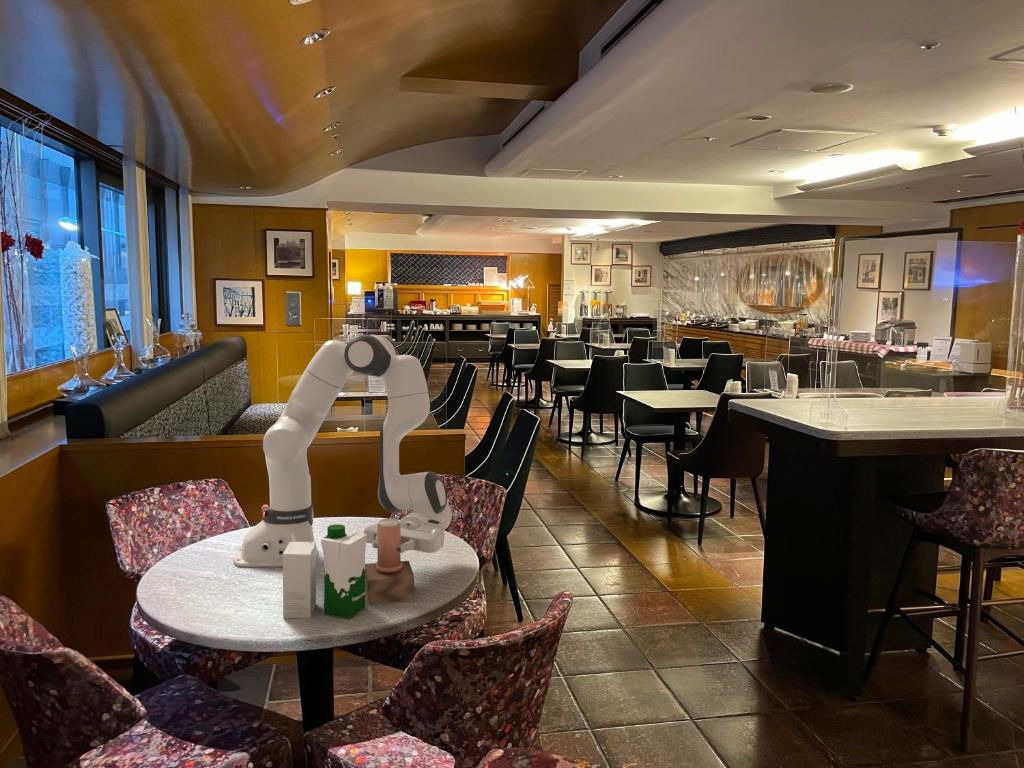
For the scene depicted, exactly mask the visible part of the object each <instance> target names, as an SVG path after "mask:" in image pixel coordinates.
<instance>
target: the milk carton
mask: <svg viewBox="0 0 1024 768" xmlns="http://www.w3.org/2000/svg"><path fill="white" fill-rule="evenodd" d="M366 540H367V534H364V533H361V532H358V531H348V530H346V526H345V525H344V524H337V523H336V524H331V525H328V526H327V534H326V535H325V536H324V537H322V538H321V539H320V544H321V548H322V553H323V576H324V577H323V578H324V580H323V583H324V584H323V585H324V587H323V590H324V592H323V593H324V595H323V596H324V597H323V615H327V616H331V617H335V618H341V619H348V620H350V619H352V618H353V617H354V616H356V615H357V614H359V613H360V612H361V611H363V610H364V609H365V608H367V603H366V602H367V601H366V599H367V597H366V589H365V564H366V550H367V549H366V547H367V543H366Z"/></svg>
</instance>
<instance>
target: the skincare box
mask: <svg viewBox="0 0 1024 768" xmlns="http://www.w3.org/2000/svg"><path fill="white" fill-rule="evenodd" d="M316 548H317V542H316V541H315V542H289V544H288V546H287V548H286V549H285V551H284V553H283V566H282V618H283V619H285V620H286V619H289V620H290V619H311V617H312V616H313V612H314V610H315V607H316V605H317V555H316Z"/></svg>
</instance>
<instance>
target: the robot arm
mask: <svg viewBox="0 0 1024 768" xmlns="http://www.w3.org/2000/svg"><path fill="white" fill-rule="evenodd" d="M353 373H357V374H359V375H363V376H369V377H375V378H376V377H377V378H379V377H380V378H381V380H383V382H384V385H385V389H386V394H387V401H388V403H387V404H388V405H387V406H388V407H387V413H386V417H385V418H384V419H383V420H382V422H381V424H380V430H379V479H378V488H377V499H378V500H377V501H378V502H379V504H380V505H381V507H382V508H383V509H384V510H386V512H388V513H391V514H395V513H400V512H405V511H411V510H412V512H410V513H408V514H407V515H406V516H404V517H401V519H399V523H400V524H401V543H400V544H398V545H397V548H398V549H397V551H398V552H401V553H405V552H408V551H414V552H415V551H416V552H423V553H429V554H431V553H432V554H433V553H435V552H438V551H439V550H440V549H441V548H443V547H444V542H445V530H446V529H447V528H448V526H449V525H450V523H451V521H452V517H453V511H452V507H451V506H450V505H449V504H448V493H447V489H446V485H445V483H444V481H443V480H442V478H441V477H440V476H439V475H438V474H437V473H435V472H434V471H423V472H416V473H408V474H401V473H400V443H401V441H402V440H403V438H404V437H405V436H406V435H407V434H409V433H410V432H412V431H413V430H415V429H417V428H418V427H419V426H421V425H422V424H423V423H424V422H425V421H426V420H427V418H428V416H429V414H430V411H431V410H430V409H431V401H430V396H429V395H430V394H429V389H428V385H427V379H426V376H425V373H424V369H423V366H422V364H421V361H420V360H419V359H418V358H417V357H415V356H413V355H410V354H399V355H398V350H397V347H396V345H395V343H393V341H392V340H391V339H389V338H387V337H384V336H381V335H378V334H359V335H356V336H355V337H352V339H350V340H349V341H348V342H347V343H346V342H344V341H342V340H338V339H330V340H327V341H326V342H324V344H322V346H320V348H319V349H318V350H317V352H316V353H315V354H314V355H313V357H312V359H311V360H310V362H309V363H308V364H307V367H306V368H305V369H304V371H303V373H302V375H301V376H300V378H299V380H298V381H297V383H296V385H295V387H294V388H293V390H292V392H291V394H290V396H289V399H288V401H287V403H286V404H285V407H284V409H283V411H282V413H281V415H280V416H279V418H278V419H277V420H276V422H275V423H274V424H272V426H270V427H269V428H268V429H267V431H266V432H265V435H264V436H263V441H262V450H263V452H264V457H265V464H266V468H267V469H266V470H267V475H268V482H269V484H268V485H269V486H268V487H269V505H268V504H263V505H262V506H261V513H262V514H261V515H262V520H261V521H260V522H259V523H257V524H256V525H255V526H254V527H252V528H251V529H250V530H248V531H247V532H246V533H245V536H244V537H243V539H242V543H241V547H240V548H239V549H236V550H235V552H234V554H233V559H232V561H233V564H234V565H235V566H237V567H248V568H249V567H250V568H251V567H252V568H253V567H283V553H284V551H285V549H286V548H287V546H288V544H289V542H316V540H315V536H314V531H313V530H314V528H313V525H314V507H313V504H312V487H311V486H312V485H311V484H312V483H311V482H312V480H311V478H312V477H311V474H310V469H309V464H308V456H307V454H308V447H310V445H311V444H312V442H313V441H314V438H315V437H316V435H317V433H318V432H319V430H320V428H321V425H322V424H323V422H324V420H325V418H326V417H327V415H328V413H329V411H330V410H331V408H332V406H333V405H334V402H335V401H336V399H337V398H338V396H339V395H340V392H341V391H342V389H343V387H344V386H345V385H346V382H347V380H348V379H349V378H350V376H351V375H352V374H353ZM378 523H379V522H377V523H375V524H372V525H369V526H367V527H365V528H364V530H363V534H367V540H366V544H371V545H372V548H373V549H377V524H378ZM318 553H319V550H318V547H316V556H317V555H318Z"/></svg>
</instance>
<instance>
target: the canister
mask: <svg viewBox="0 0 1024 768" xmlns="http://www.w3.org/2000/svg"><path fill="white" fill-rule="evenodd" d="M399 521H400V519H397V518H393V517H388V518H382V519H379V521H378V522H377V523H378V524H377V523H376V524H377V548H376V549H377V553H376V554H377V561H376V562H375V563H376V564H375V568H376V570H377V571H379V572H384V573H391V572H397V571H399V570H401V569H402V568H403V563H402V561H403V560H401V557H402V556H401V553H402V552H398V551H397V549H398V548H397V545H398V544H400V543H401V524H400V523H399Z"/></svg>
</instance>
